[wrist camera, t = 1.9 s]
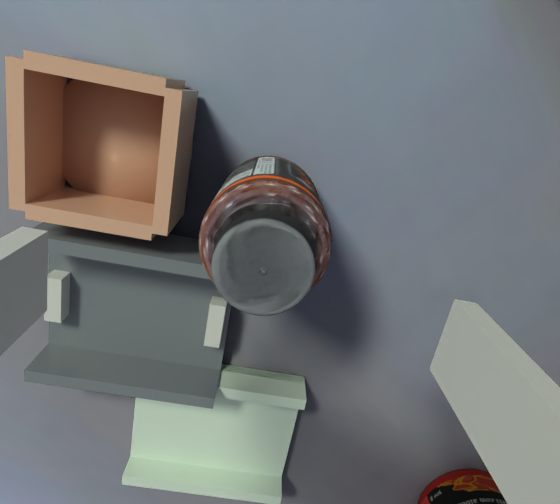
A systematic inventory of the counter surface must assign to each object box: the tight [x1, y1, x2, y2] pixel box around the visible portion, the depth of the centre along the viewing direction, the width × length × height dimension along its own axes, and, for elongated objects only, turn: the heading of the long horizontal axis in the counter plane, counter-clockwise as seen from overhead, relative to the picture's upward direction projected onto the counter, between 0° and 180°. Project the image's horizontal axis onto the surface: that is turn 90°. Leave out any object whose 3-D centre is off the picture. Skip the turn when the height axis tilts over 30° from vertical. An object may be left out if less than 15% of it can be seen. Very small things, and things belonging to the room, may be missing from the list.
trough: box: [122, 364, 307, 504], centre depth 31 cm, size 12×10×3 cm
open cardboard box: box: [5, 50, 198, 241], centre depth 23 cm, size 8×8×5 cm
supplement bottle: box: [198, 156, 332, 316], centre depth 22 cm, size 6×6×11 cm
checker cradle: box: [24, 222, 231, 409], centre depth 27 cm, size 12×10×4 cm
